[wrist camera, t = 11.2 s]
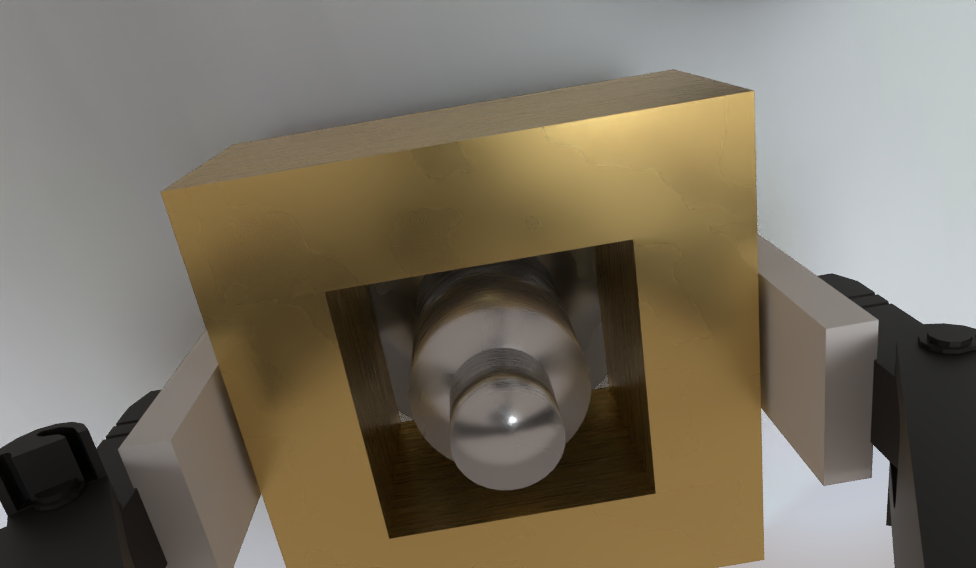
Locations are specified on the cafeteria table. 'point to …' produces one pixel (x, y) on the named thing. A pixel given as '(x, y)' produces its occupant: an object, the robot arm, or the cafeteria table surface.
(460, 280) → the cylinder
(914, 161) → the cafeteria table surface
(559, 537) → the gold square ring
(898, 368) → the robot arm
